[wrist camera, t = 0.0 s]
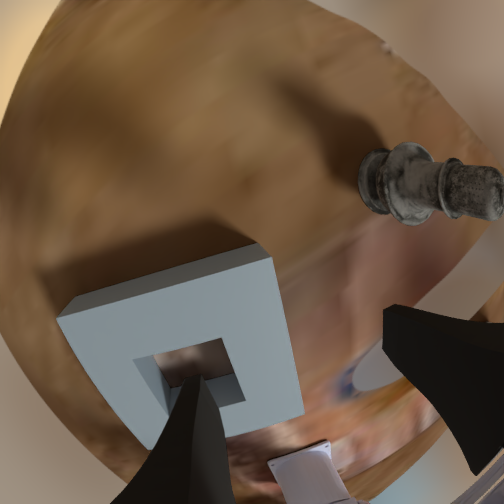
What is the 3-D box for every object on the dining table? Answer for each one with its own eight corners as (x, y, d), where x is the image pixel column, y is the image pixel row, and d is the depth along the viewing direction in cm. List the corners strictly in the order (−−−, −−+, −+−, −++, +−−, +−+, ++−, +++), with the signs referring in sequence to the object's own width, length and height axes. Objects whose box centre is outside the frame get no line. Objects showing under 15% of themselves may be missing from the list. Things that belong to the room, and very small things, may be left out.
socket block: (292, 387, 22) (305, 413, 19) (150, 422, 21) (147, 450, 17) (257, 242, 18) (271, 256, 15) (75, 296, 17) (55, 318, 13)
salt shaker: (356, 222, 19) (491, 270, 8) (350, 144, 18) (492, 129, 6) (410, 214, 20) (529, 247, 9) (406, 145, 19) (530, 145, 7)
